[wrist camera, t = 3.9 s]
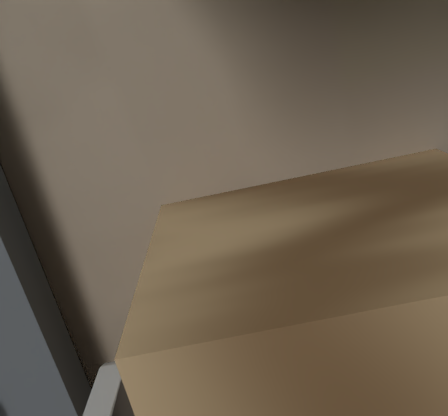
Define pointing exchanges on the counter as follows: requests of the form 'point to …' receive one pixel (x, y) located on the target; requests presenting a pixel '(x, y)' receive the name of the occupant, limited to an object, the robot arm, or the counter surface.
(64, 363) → the build plate
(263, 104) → the counter surface
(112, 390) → the robot arm
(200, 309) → the oak block
